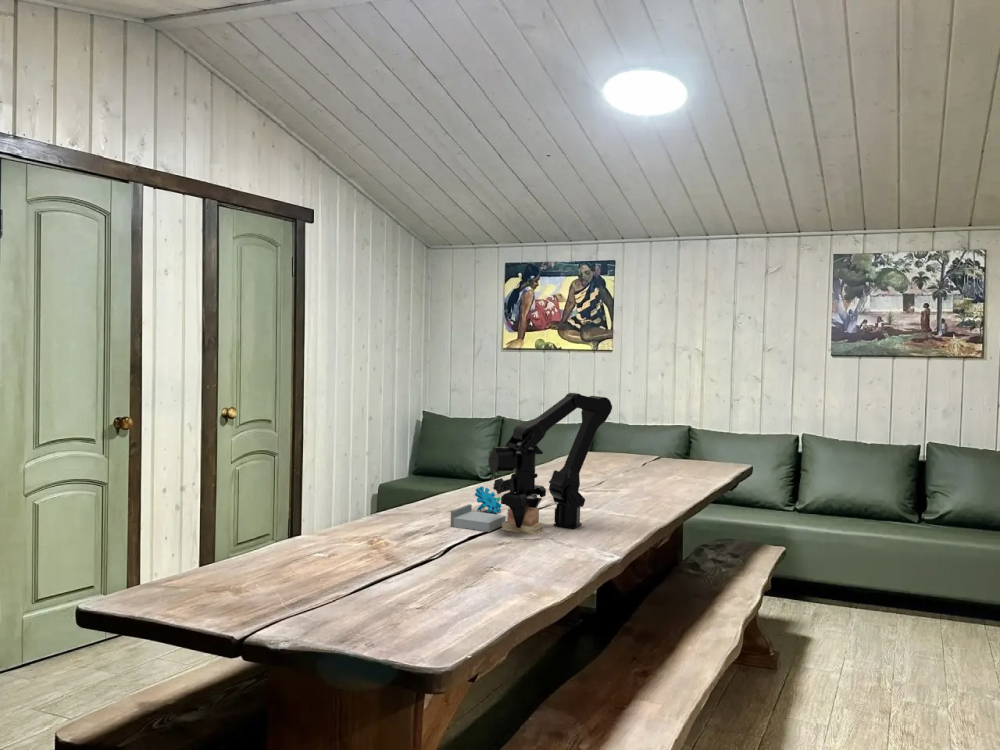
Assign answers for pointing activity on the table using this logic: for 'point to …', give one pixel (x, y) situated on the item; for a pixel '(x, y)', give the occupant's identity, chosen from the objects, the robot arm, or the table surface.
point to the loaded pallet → (523, 529)
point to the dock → (475, 519)
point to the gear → (488, 500)
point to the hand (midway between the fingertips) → (522, 525)
